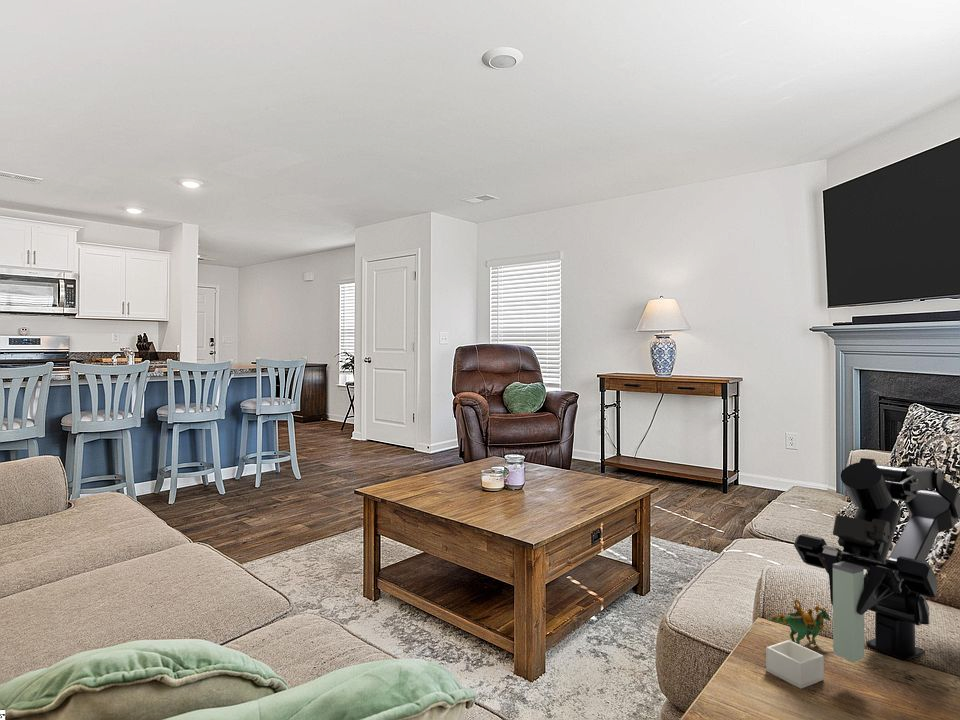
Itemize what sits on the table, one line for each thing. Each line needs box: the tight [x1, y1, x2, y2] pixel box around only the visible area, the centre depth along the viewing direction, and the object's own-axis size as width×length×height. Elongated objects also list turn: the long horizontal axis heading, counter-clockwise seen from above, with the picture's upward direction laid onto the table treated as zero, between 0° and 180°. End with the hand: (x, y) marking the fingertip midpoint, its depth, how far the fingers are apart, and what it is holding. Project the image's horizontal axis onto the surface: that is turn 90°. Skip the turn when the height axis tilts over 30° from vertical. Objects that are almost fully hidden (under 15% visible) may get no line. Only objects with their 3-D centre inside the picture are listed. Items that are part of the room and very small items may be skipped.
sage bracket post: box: [832, 561, 865, 663], centre depth 87 cm, size 3×3×14 cm
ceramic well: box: [765, 639, 825, 689], centre depth 89 cm, size 6×6×4 cm
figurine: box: [767, 598, 831, 647], centre depth 99 cm, size 3×12×8 cm, turn 96°
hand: (845, 609), depth 86 cm, fingers closed on sage bracket post, 3 cm apart
